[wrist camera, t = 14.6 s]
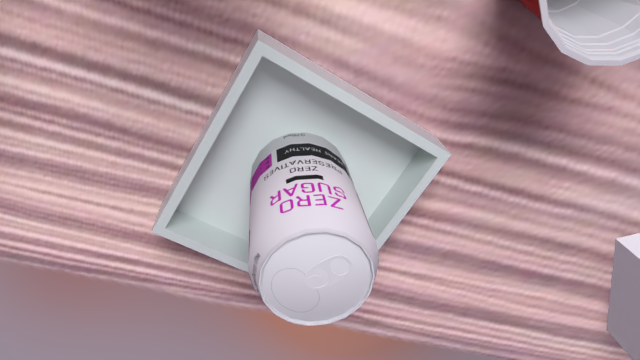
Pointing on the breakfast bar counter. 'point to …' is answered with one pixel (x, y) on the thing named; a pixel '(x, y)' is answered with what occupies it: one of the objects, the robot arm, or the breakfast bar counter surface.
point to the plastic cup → (592, 28)
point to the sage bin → (280, 119)
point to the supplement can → (308, 232)
